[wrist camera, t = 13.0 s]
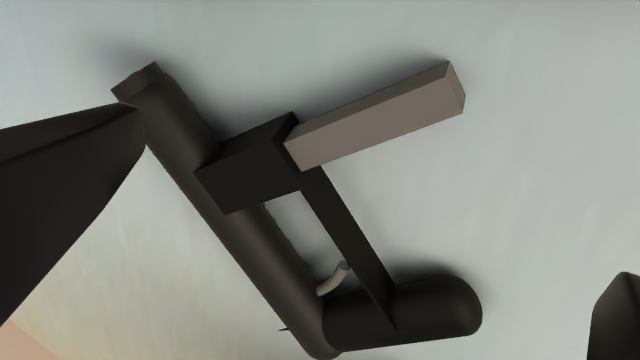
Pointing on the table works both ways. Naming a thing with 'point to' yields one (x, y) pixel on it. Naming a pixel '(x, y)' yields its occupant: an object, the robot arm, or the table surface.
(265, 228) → the door handle
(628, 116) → the table surface
